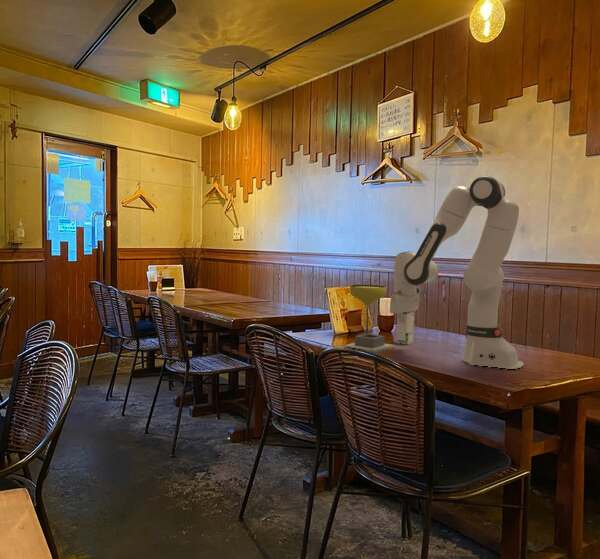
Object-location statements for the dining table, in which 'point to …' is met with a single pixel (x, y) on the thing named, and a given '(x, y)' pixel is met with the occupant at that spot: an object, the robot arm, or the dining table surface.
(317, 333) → the dining table surface
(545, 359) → the dining table surface
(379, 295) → the cocktail glass
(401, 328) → the plug
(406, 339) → the syrup box
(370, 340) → the socket
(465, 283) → the robot arm
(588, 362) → the dining table surface
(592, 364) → the dining table surface
